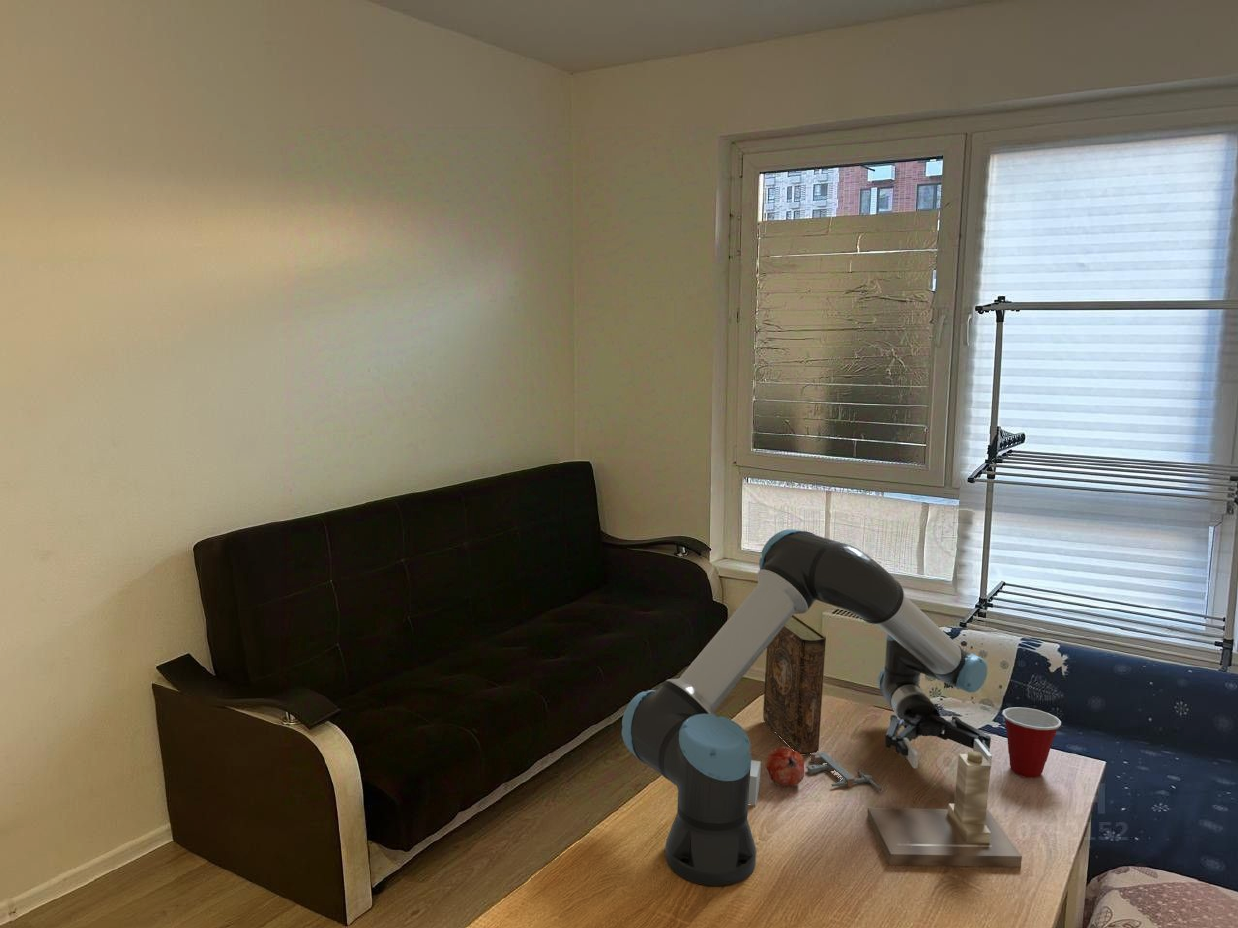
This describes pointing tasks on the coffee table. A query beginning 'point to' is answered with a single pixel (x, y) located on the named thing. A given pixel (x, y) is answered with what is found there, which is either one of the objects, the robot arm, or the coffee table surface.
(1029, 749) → the plastic cup
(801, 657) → the book
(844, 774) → the clamp
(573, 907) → the coffee table surface
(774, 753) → the pomegranate
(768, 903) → the coffee table surface
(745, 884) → the coffee table surface
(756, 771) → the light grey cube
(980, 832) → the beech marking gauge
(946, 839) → the grey flat plate
